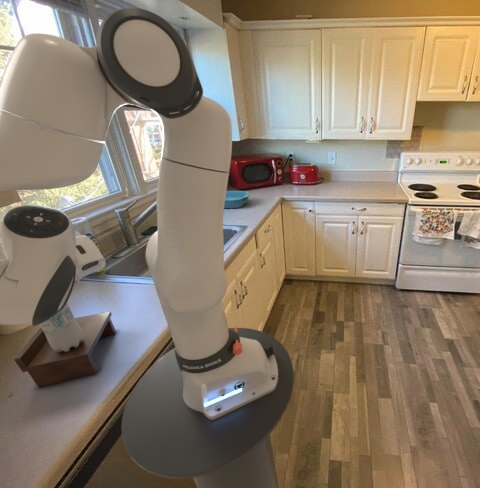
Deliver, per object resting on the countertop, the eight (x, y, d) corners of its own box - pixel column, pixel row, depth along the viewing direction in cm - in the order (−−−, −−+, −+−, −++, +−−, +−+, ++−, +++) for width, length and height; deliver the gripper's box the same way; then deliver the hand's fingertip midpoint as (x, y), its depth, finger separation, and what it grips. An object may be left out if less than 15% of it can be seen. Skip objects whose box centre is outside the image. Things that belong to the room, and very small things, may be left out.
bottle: (46, 351, 69) (5, 283, 60) (76, 333, 75) (42, 268, 66) (64, 358, 67) (25, 289, 58) (93, 338, 73) (61, 273, 64)
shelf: (118, 329, 86) (107, 303, 81) (97, 374, 71) (82, 345, 67) (67, 340, 82) (52, 312, 78) (34, 389, 68) (13, 359, 63)
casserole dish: (192, 209, 189) (189, 199, 186) (207, 199, 209) (205, 190, 206) (244, 210, 186) (243, 199, 183) (255, 200, 206) (253, 190, 203)
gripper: (-29, 309, 44) (-13, 333, 53) (112, 255, 60) (106, 280, 69) (-52, 277, 45) (-32, 307, 53) (95, 232, 60) (91, 260, 69)
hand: (47, 291), depth 61 cm, fingers open, 8 cm apart
